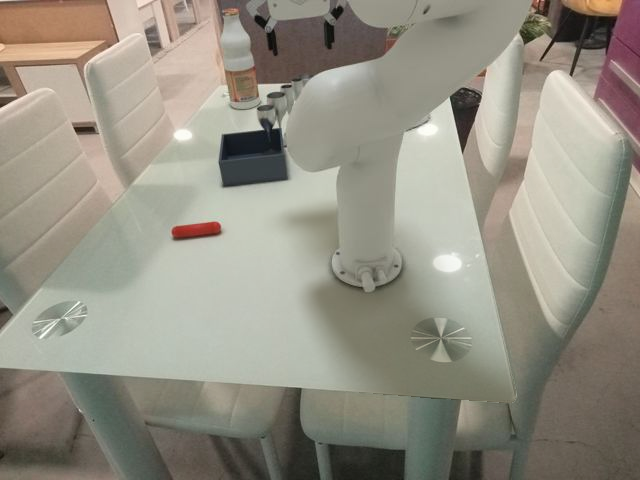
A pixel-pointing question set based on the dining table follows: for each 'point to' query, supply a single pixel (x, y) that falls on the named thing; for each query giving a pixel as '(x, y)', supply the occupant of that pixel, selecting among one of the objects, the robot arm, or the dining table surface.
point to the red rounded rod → (196, 229)
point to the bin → (252, 157)
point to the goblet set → (280, 105)
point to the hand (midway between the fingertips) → (301, 50)
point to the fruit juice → (238, 62)
